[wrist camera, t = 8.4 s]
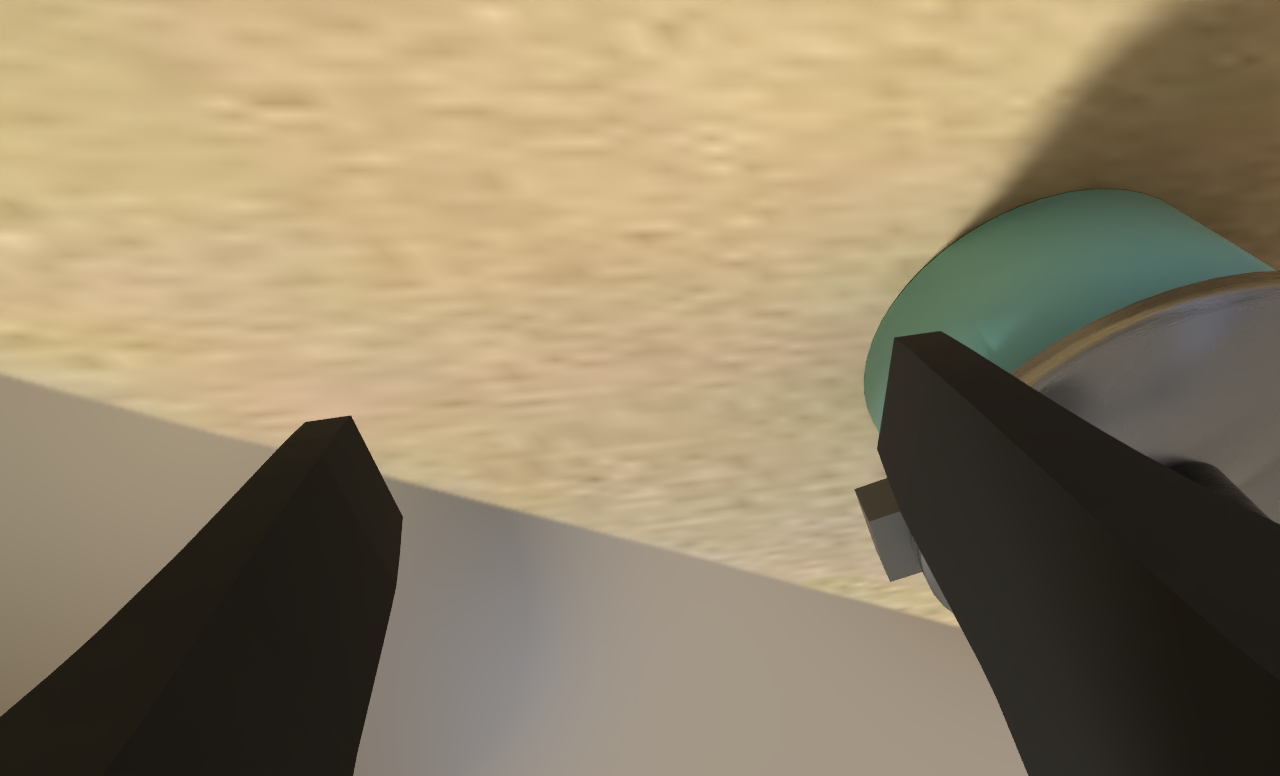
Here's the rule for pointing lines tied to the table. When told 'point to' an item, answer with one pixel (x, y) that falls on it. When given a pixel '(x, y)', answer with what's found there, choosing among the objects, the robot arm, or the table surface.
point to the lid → (1180, 385)
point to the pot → (1037, 297)
